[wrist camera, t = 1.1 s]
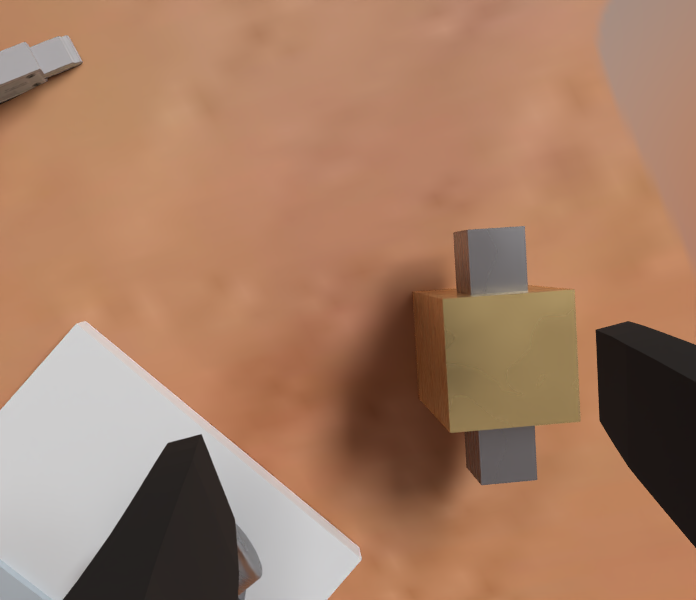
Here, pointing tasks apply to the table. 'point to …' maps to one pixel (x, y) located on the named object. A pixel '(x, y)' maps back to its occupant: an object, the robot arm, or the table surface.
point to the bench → (132, 478)
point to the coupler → (497, 354)
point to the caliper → (34, 65)
